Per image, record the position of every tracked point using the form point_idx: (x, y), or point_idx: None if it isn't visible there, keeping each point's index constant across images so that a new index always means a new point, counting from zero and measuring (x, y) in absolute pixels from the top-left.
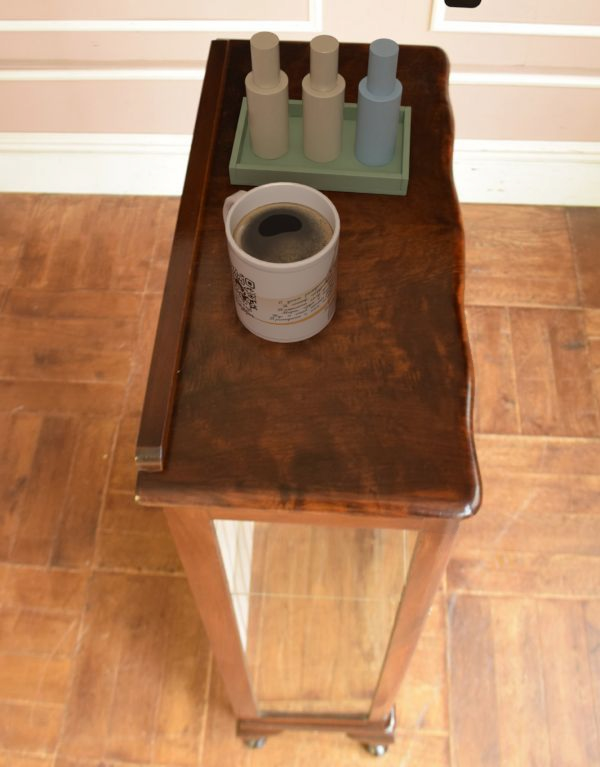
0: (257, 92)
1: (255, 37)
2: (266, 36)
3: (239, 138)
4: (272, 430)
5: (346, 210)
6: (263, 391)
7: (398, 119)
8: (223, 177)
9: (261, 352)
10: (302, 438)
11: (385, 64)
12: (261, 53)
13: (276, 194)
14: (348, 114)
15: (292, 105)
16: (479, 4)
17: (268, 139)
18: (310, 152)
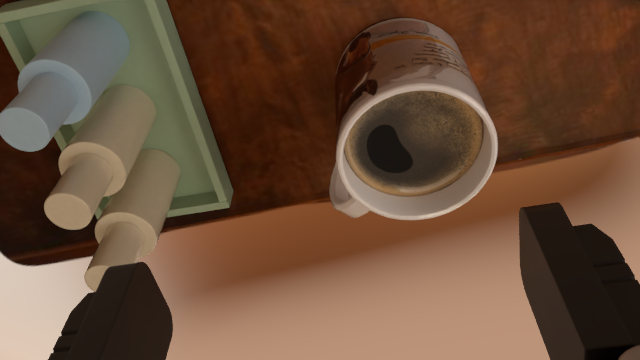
0: (155, 240)
1: None
2: (97, 281)
3: (176, 211)
4: (592, 40)
5: (219, 48)
6: (537, 66)
7: (66, 37)
8: None
9: (480, 84)
10: (602, 3)
11: (50, 114)
12: None
13: (349, 173)
14: None
15: None
16: (557, 202)
17: (171, 184)
18: (152, 125)
